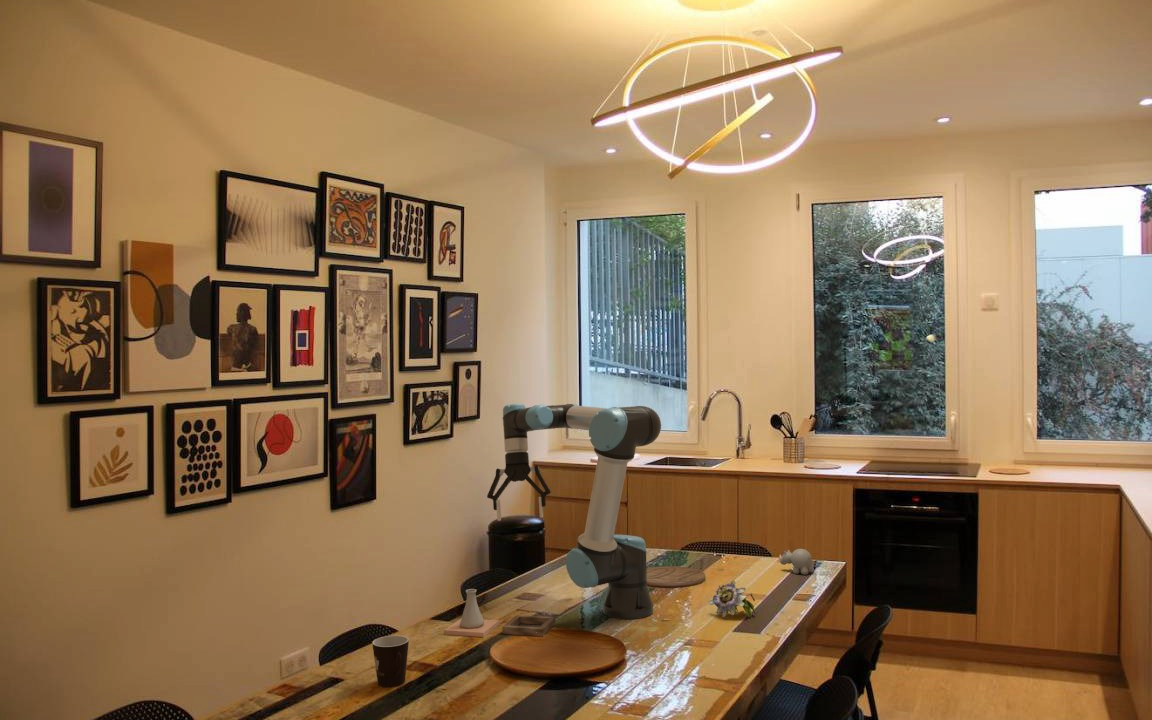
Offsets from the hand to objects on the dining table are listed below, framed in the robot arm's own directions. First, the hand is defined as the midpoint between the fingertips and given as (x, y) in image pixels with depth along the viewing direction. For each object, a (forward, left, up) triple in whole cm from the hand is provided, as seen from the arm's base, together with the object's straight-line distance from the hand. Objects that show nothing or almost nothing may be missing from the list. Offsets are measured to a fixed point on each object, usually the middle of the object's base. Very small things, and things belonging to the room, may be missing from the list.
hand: (520, 519), depth 280 cm
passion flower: (-66, 0, -27) cm, 72 cm away
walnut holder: (-11, +26, -27) cm, 39 cm away
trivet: (-40, -39, -27) cm, 62 cm away
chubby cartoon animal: (-82, -57, -27) cm, 104 cm away
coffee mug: (+7, +75, -27) cm, 80 cm away
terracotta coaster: (+5, +30, -27) cm, 40 cm away
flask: (+5, +30, -26) cm, 39 cm away
